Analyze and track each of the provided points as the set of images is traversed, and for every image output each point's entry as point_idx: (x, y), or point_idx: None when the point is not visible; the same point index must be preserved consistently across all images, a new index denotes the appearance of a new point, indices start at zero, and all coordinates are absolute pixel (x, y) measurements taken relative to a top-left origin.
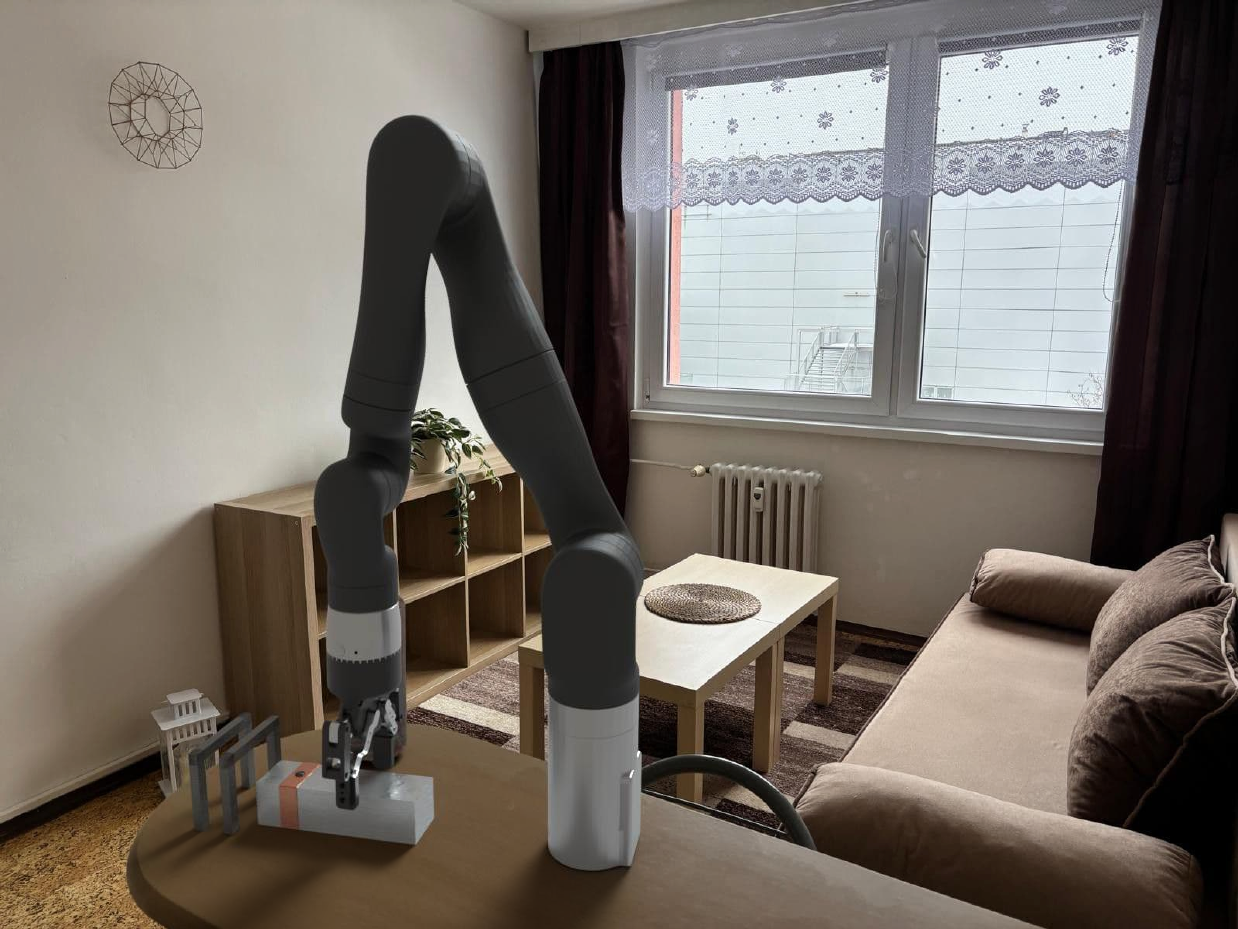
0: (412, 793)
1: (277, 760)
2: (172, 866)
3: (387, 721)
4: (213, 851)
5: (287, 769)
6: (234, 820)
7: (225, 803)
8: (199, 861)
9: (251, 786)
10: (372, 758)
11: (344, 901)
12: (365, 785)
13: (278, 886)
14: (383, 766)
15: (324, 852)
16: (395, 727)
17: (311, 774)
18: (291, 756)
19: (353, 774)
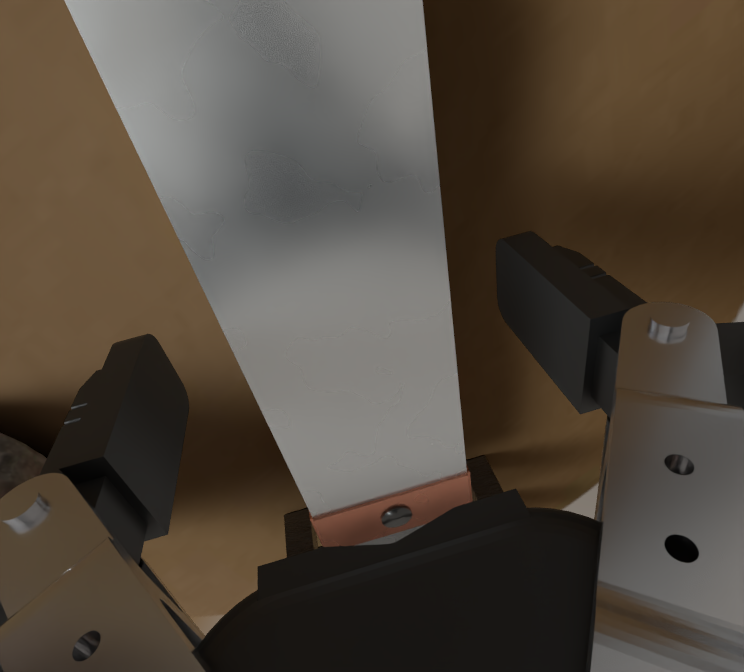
0: (326, 14)
1: None
2: (594, 454)
3: (162, 609)
4: (541, 440)
5: None
6: (487, 481)
7: None
8: (574, 435)
9: (320, 547)
10: (43, 464)
11: (719, 5)
12: (367, 313)
13: (647, 247)
14: (167, 364)
15: (494, 249)
16: (20, 521)
17: (379, 496)
18: (172, 582)
19: (702, 315)
